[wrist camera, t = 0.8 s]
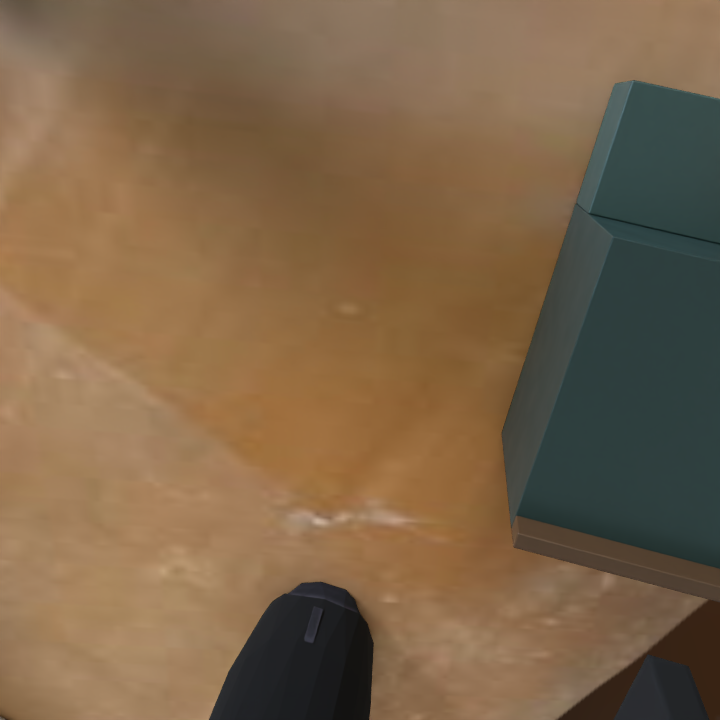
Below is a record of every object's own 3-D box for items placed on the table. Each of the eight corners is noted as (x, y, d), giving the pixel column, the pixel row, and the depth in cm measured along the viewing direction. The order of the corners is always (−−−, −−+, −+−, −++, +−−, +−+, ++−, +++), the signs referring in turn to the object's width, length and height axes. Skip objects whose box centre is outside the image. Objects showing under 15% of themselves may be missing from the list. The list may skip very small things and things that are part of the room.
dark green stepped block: (614, 83, 34) (682, 70, 23) (902, 145, 33) (1113, 163, 22) (501, 433, 41) (512, 547, 30) (734, 492, 40) (830, 632, 29)
